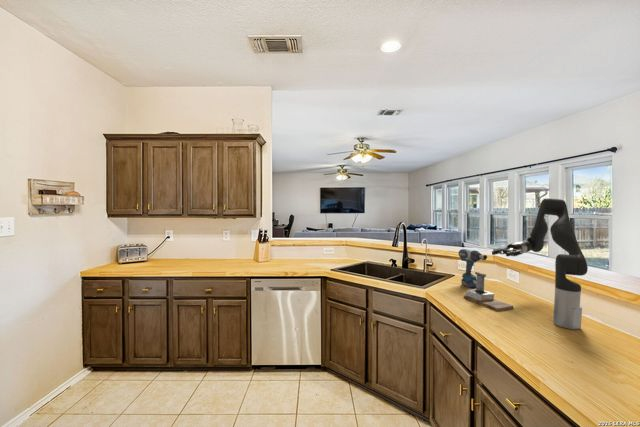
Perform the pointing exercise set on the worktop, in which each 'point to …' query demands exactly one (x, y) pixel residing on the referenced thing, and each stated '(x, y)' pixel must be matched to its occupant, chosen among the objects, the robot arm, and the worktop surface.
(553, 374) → the worktop surface
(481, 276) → the chuck key
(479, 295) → the stand
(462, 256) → the impact wrench
